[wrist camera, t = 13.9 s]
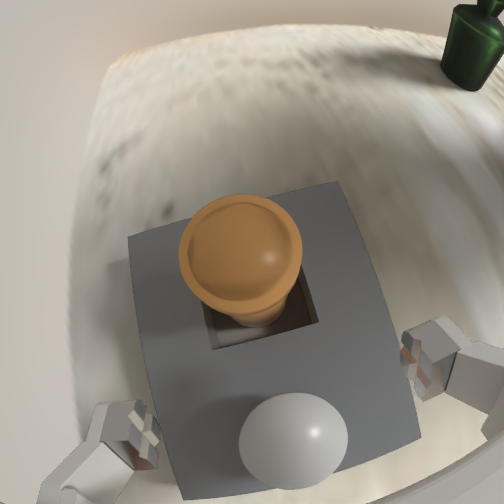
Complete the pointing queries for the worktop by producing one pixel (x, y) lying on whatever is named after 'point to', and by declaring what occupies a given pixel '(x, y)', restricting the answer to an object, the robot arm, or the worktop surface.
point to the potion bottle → (474, 43)
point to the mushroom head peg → (242, 257)
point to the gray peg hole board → (274, 365)
